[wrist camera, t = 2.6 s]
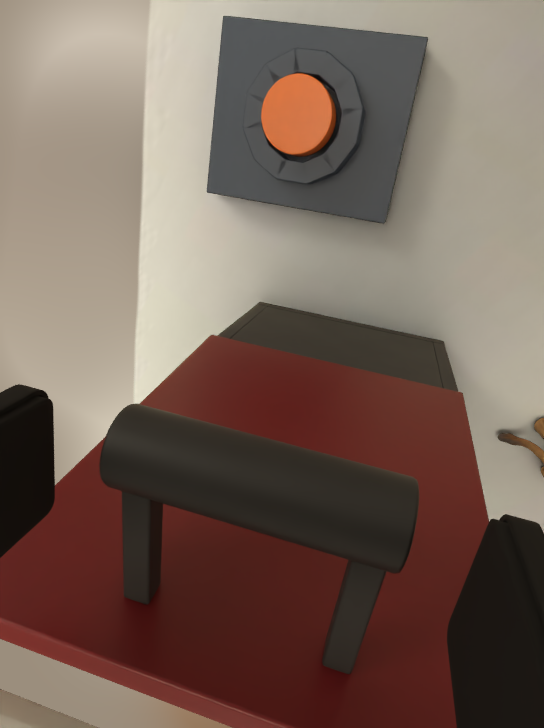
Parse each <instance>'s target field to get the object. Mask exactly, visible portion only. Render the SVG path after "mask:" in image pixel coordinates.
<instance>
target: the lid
mask: <svg viewBox="0 0 544 728" xmlns="http://www.w3.org/2000/svg"><path fill="white" fill-rule="evenodd" d="M488 523H489V519H488V514H487V509H486V504H485V500H484V495H483V490H482V485H481V480H480V475H479V470H478V465H477V460H476V456H475V451H474V446H473V441H472V436H471V431H470V426H469V421H468V417H467V412H466V407H465V402H464V397H463V393H461V392H457V391H453V390H448V389H444V388H440V387H435V386H431V385H427V384H422V383H418V382H414V381H409V380H405V379H401V378H396V377H392V376H388V375H383V374H379V373H375V372H370V371H366V370H362V369H357V368H353V367H349V366H345V365H340V364H336V363H332V362H327V361H323V360H319V359H314V358H310V357H306V356H301V355H297V354H293V353H288V352H284V351H280V350H275V349H271V348H267V347H262V346H258V345H254V344H249V343H245V342H241V341H237V340H232V339H228V338H224V337H219V336H215V335H211V336H209V337H208V338H207V339H206V340H205V341H204V342H203V343H202V344H201V345H200V346H199V347H198V348H197V349H196V350H195V351H194V352H193V353H192V354H191V355H190V356H189V357H188V358H187V359H186V360H185V361H184V362H183V363H181V364H180V365H179V366H178V367H177V368H176V369H175V370H174V371H173V372H172V373H171V374H170V375H169V376H168V377H167V378H166V379H165V380H164V381H163V382H162V383H161V384H160V385H159V386H158V387H157V388H156V389H155V390H154V391H152V392H151V393H150V394H149V395H148V396H147V397H146V398H145V399H144V400H143V401H142V402H141V403H140V404H131V405H129V406H127V407H125V408H124V409H123V410H122V411H121V412H120V413H119V414H118V415H117V417H116V418H115V420H114V421H113V423H112V424H111V426H110V428H109V430H108V433H107V435H106V437H105V438H104V439H103V440H102V441H101V442H100V443H99V444H98V445H97V446H96V447H95V448H94V449H92V450H91V451H90V452H89V453H88V454H87V455H86V456H85V457H84V458H83V459H82V460H81V461H80V462H79V463H78V464H77V465H76V466H75V467H74V468H73V469H72V470H71V471H70V472H69V473H68V474H66V475H65V476H64V477H63V478H62V479H61V480H60V481H59V482H58V483H57V484H56V485H55V501H54V504H53V507H52V509H51V510H50V512H49V513H48V514H47V516H45V517H44V518H43V519H42V520H41V521H40V522H39V523H38V524H37V525H36V526H35V527H33V528H32V529H31V530H30V531H29V532H28V533H27V534H26V535H25V536H24V537H23V538H21V539H20V540H19V541H18V542H17V543H16V544H15V545H14V546H13V547H12V548H11V549H10V550H8V551H7V552H6V553H5V554H4V555H3V556H2V557H1V558H0V639H2V640H5V641H8V642H10V643H13V644H15V645H18V646H21V647H23V648H26V649H29V650H31V651H34V652H36V653H39V654H41V655H44V656H47V657H50V658H52V659H55V660H57V661H60V662H62V663H65V664H68V665H70V666H73V667H76V668H78V669H81V670H83V671H86V672H89V673H91V674H94V675H96V676H99V677H102V678H105V679H107V680H110V681H112V682H115V683H117V684H120V685H123V686H125V687H128V688H130V689H133V690H136V691H138V692H141V693H144V694H146V695H149V696H151V697H154V698H157V699H159V700H162V701H165V702H167V703H170V704H172V705H175V706H178V707H180V708H183V709H186V710H188V711H191V712H193V713H196V714H199V715H201V716H204V717H206V718H209V719H212V720H214V721H217V722H219V723H222V724H225V725H227V726H230V727H232V728H457V725H456V716H455V707H454V699H453V690H452V681H451V673H450V664H449V655H448V646H447V630H448V624H449V621H450V618H451V615H452V613H453V610H454V608H455V605H456V603H457V600H458V598H459V595H460V593H461V590H462V588H463V585H464V583H465V580H466V578H467V575H468V573H469V570H470V568H471V565H472V563H473V560H474V558H475V555H476V553H477V550H478V548H479V545H480V543H481V540H482V538H483V535H484V533H485V530H486V528H487V525H488Z"/></svg>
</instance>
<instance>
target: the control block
mask: <svg viewBox="0 0 544 728" xmlns="http://www.w3.org/2000/svg"><path fill="white" fill-rule="evenodd" d="M427 41H428V38H427V37H420V36H410V35H401V34H392V33H382V32H373V31H363V30H354V29H344V28H335V27H326V26H316V25H307V24H297V23H288V22H278V21H269V20H260V19H250V18H241V17H231V16H223V24H222V35H221V45H220V56H219V67H218V77H217V88H216V99H215V109H214V120H213V131H212V141H211V152H210V163H209V173H208V184H207V192H208V193H213V194H219V195H225V196H230V197H236V198H242V199H247V200H253V201H259V202H264V203H270V204H276V205H281V206H287V207H293V208H298V209H304V210H310V211H315V212H321V213H327V214H333V215H338V216H344V217H350V218H355V219H361V220H367V221H372V222H378V223H385V222H386V219H387V215H388V210H389V206H390V202H391V198H392V193H393V189H394V185H395V180H396V176H397V172H398V167H399V163H400V159H401V155H402V150H403V146H404V142H405V137H406V133H407V129H408V124H409V120H410V116H411V112H412V107H413V103H414V99H415V94H416V90H417V86H418V81H419V77H420V73H421V69H422V64H423V60H424V56H425V51H426V47H427ZM296 73H301V74H307V75H310V76H312V77H314V78H316V79H317V80H318V81H320V82H321V83H322V84H323V85H324V87H325V88H326V90H327V91H328V92H329V94H330V95H331V97H332V99H333V102H334V105H335V109H336V123H335V128H334V131H333V134H332V136H331V138H330V139H329V141H328V142H327V143H326V145H325V146H324V147H323V148H322V149H320V150H319V151H317V152H316V153H314V154H311V155H308V156H301V157H300V156H293V155H290V154H287V153H284V152H282V151H280V150H278V149H277V148H275V147H274V146H273V145H272V144H271V143H270V141H269V140H268V139H267V137H266V135H265V133H264V130H263V127H262V121H261V111H262V105H263V102H264V99H265V97H266V95H267V93H268V91H269V90H270V88H271V87H272V86H273V85H274V84H275V83H276V82H277V81H278V80H280V79H281V78H283V77H285V76H287V75H290V74H296Z"/></svg>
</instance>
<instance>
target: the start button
mask: <svg viewBox="0 0 544 728" xmlns="http://www.w3.org/2000/svg"><path fill="white" fill-rule="evenodd" d="M261 121H262V127H263V130H264V133H265V135H266V137H267V139H268V140H269V141H270V143H271V144H272V145H273V146H274V147H275V148H277V149H278V150H280V151H282V152H284V153H287V154H290V155H293V156H300V157H301V156H308V155H311V154H314V153H316V152H317V151H319V150H320V149H322V148H323V147H324V146H325V145H326V143H327V142H328V141H329V139H330V138H331V136H332V134H333V131H334V128H335V123H336V109H335V105H334V102H333V99H332V97H331V95H330V94H329V92H328V91H327V90H326V88H325V87H324V85H323V84H322V83H321V82H320V81H318V80H317V79H316V78H314V77H312V76H310V75H307V74H301V73H296V74H290V75H287V76H285V77H283V78H281V79H280V80H278V81H277V82H276V83H275V84H274V85H273V86H272V87H271V88H270V90H269V91H268V93H267V95H266V97H265V99H264V102H263V105H262V111H261Z"/></svg>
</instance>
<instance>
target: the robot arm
mask: <svg viewBox="0 0 544 728" xmlns="http://www.w3.org/2000/svg"><path fill="white" fill-rule="evenodd" d="M53 430H54V428H53V403H52V401H51V400H50V399H48V396H47V394H46V392H44V391H43V390H39V389H36V388H32V387H28V386H24V385H15V386H13V387H11V388H9V389H7V390H5V391H3V392H1V393H0V558H1V557H2V556H3V555H4V554H5V553H6V552H7V551H8V550H10V549H11V548H12V547H13V546H14V545H15V544H16V543H17V542H18V541H19V540H20V539H21V538H23V537H24V536H25V535H26V534H27V533H28V532H29V531H30V530H31V529H32V528H33V527H35V526H36V525H37V524H38V523H39V522H40V521H41V520H42V519H43V518H44V517H45V516H47V514H48V513H49V512H50V510H51V509H52V507H53V504H54V501H55V479H54V431H53ZM447 646H448V655H449V664H450V673H451V681H452V690H453V699H454V707H455V716H456V725H457V728H544V533H543V531H542V528H541V527H540V525H539V524H538V523H536V522H533V521H529V520H525V519H521V518H518V517H514V516H510V515H506V514H505V515H503V516H502V517H501V518H500V520H495V519H491V520H490V522H489V523H488V525H487V528H486V530H485V533H484V535H483V538H482V540H481V543H480V545H479V548H478V550H477V553H476V555H475V558H474V560H473V563H472V565H471V568H470V570H469V573H468V575H467V578H466V580H465V583H464V585H463V588H462V590H461V593H460V595H459V598H458V600H457V603H456V605H455V608H454V610H453V613H452V615H451V618H450V621H449V624H448V630H447ZM0 728H98V727H95V726H93V725H90V724H88V723H85V722H83V721H80V720H78V719H75V718H73V717H70V716H68V715H65V714H63V713H60V712H57V711H55V710H52V709H50V708H47V707H45V706H42V705H40V704H37V703H35V702H32V701H30V700H27V699H24V698H22V697H20V696H17V695H14V694H12V693H9V692H7V691H4V690H2V689H0Z"/></svg>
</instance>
